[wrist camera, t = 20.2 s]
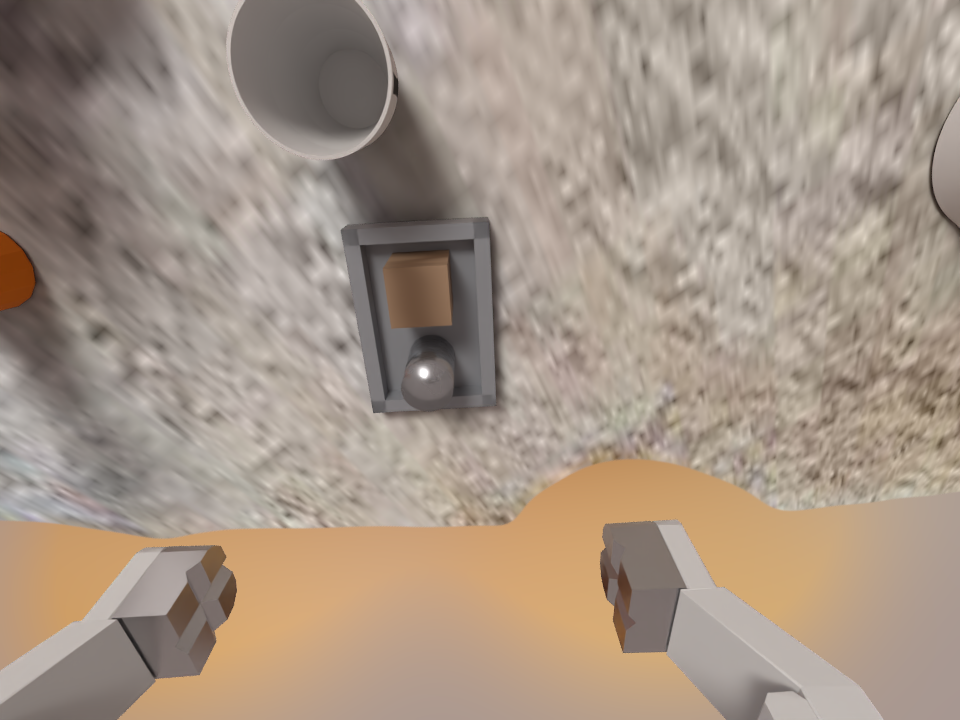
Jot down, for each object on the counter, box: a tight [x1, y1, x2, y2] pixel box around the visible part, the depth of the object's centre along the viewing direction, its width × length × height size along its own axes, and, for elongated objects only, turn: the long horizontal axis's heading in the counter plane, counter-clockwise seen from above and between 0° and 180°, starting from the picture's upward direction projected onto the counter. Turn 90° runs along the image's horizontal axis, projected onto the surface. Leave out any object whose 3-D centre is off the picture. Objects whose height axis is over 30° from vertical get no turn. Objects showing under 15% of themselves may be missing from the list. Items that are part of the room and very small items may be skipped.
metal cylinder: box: [401, 335, 455, 411], centre depth 38 cm, size 4×4×6 cm
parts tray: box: [341, 217, 496, 413], centre depth 38 cm, size 11×16×2 cm
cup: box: [226, 0, 398, 160], centre depth 27 cm, size 8×8×10 cm
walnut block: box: [383, 250, 453, 329], centre depth 35 cm, size 4×4×5 cm
